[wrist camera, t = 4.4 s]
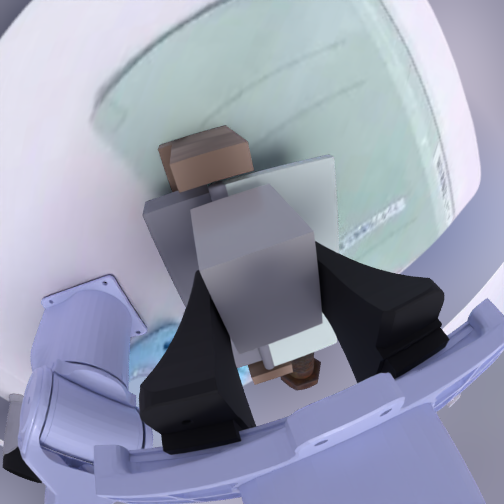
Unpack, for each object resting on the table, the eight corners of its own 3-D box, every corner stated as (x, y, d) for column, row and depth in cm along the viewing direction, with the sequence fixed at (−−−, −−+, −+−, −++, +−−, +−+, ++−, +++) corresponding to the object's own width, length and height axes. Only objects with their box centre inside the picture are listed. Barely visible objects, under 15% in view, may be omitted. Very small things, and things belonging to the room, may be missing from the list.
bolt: (294, 273, 31) (296, 353, 39) (262, 298, 28) (273, 375, 36) (338, 294, 27) (328, 372, 35) (308, 324, 24) (305, 397, 33)
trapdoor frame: (231, 336, 31) (245, 387, 25) (159, 145, 18) (150, 171, 13) (272, 323, 32) (292, 372, 26) (225, 125, 19) (247, 141, 13)
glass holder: (14, 389, 29) (3, 465, 16) (80, 422, 37) (80, 492, 24) (5, 400, 30) (-4, 466, 18) (63, 429, 38) (62, 492, 26)
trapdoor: (219, 358, 27) (225, 383, 24) (143, 194, 16) (137, 215, 14) (324, 323, 28) (337, 344, 25) (312, 146, 17) (335, 157, 15)
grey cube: (220, 285, 16) (239, 354, 12) (190, 209, 13) (199, 271, 9) (286, 262, 16) (322, 323, 12) (269, 183, 13) (313, 231, 9)
